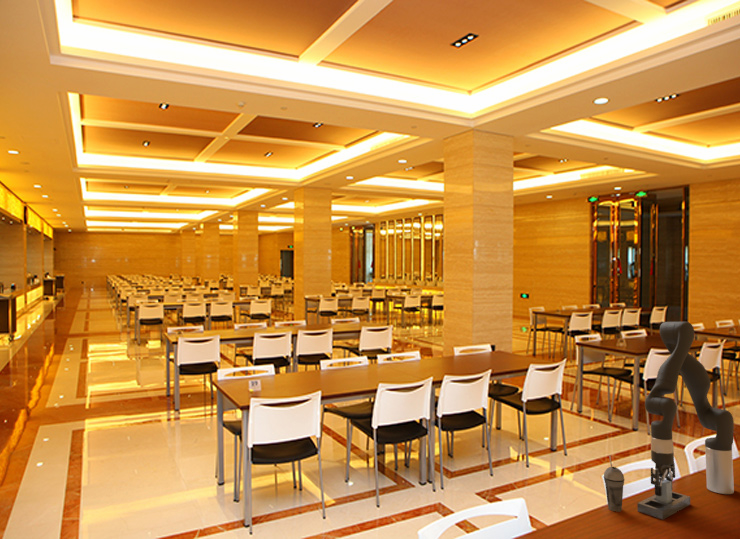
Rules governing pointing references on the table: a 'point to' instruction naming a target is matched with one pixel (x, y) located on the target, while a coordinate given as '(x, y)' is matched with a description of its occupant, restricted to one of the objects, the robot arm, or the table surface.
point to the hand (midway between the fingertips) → (663, 492)
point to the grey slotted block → (663, 505)
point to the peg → (665, 492)
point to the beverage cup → (614, 487)
